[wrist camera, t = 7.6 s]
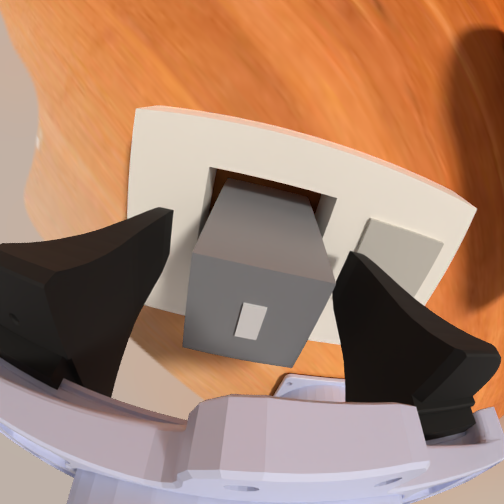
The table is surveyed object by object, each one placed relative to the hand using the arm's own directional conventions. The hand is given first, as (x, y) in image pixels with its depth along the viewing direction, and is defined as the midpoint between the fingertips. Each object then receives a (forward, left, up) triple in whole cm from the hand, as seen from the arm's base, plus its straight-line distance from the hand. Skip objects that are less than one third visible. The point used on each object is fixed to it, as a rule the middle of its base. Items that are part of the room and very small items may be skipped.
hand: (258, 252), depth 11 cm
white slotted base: (0, -2, -4) cm, 4 cm away
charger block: (0, 0, -4) cm, 4 cm away
